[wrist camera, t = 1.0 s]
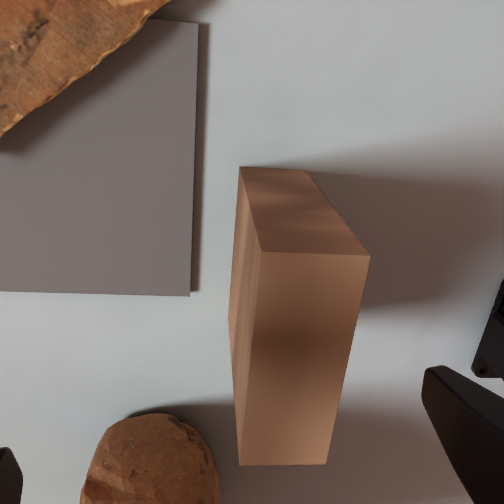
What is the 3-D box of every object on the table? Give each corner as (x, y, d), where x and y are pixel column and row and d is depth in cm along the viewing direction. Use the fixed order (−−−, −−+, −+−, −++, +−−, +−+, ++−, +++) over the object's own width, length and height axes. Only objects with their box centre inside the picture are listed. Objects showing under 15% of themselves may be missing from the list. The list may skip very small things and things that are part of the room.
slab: (306, 170, 20) (372, 256, 12) (285, 319, 24) (327, 464, 15) (239, 166, 20) (261, 251, 12) (228, 317, 23) (239, 465, 15)
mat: (198, 24, 17) (198, 23, 17) (190, 292, 22) (189, 296, 22) (-172, -13, 16) (-180, -14, 15) (-92, 284, 21) (-97, 288, 20)
